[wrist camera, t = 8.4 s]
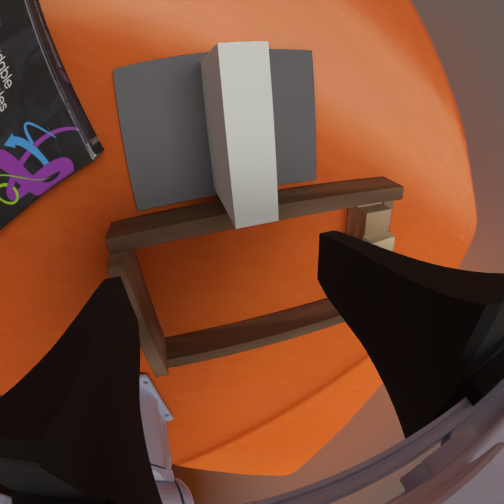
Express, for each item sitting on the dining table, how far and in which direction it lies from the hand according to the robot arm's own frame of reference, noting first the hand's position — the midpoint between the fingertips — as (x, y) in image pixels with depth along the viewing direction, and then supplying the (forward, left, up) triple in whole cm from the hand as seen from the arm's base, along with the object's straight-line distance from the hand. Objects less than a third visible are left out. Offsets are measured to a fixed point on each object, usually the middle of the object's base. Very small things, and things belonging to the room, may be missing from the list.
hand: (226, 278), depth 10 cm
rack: (-7, -4, -10) cm, 12 cm away
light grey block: (+4, -2, -9) cm, 10 cm away
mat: (+4, -2, -10) cm, 11 cm away
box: (+8, +16, -10) cm, 21 cm away
